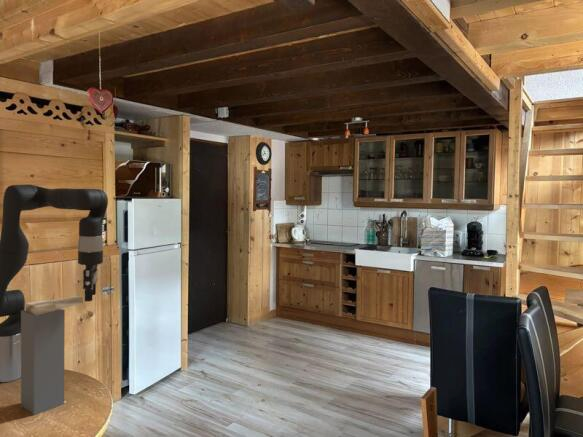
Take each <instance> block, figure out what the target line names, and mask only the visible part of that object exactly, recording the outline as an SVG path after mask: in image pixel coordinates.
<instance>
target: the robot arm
mask: <svg viewBox="0 0 583 437" xmlns="http://www.w3.org/2000/svg"><path fill="white" fill-rule="evenodd" d="M2 198H3V199H2V220H1V221H2V223H1V231H0V232H1V233H0V318H3V317H7V318H6V319H5V320H4V321H2V322H1V323H0V383H9V382H13V381H16V380H18V379H21V311H23V310H26V299H25V295H24V293H23V291H22V290H20V289H11V290H8V286H9V285H10V283H11V281H12V280H14V278H15V277H16V275H18V273H19V272H20V271H22V269H23V267H25V265H26V263H27V259H28V255H29V249H30V248H29V247H30V244H29V240H28V238H27V237H26V235H25V233H24V230H23V229H22V227H21V225H20V221H21V220H20V219H21V213H22V212H25V211H33V210H36V209H41V208H46V207H47V208H49V207H52V208H54V209H59V210H76V211H89V212H88V215H86V216H85V217H82V218H80V219H79V221H78V222H79V223H78V241H77V242H78V243H77V263H78V265H80V266H84V267H85V268H84V270H82V274H83V277H82V278H83V279H82V289H83V291H84V301H85V302H92V301H93V296H95V295H96V293H97V292H96V290H97V289H96V288H97V281H98V271H99V269H98V265H101V264H103V262H104V239H103V224H104V223H103V222H104V219H105V216H106V213H107V210H108V209H107V208H108V204H109V198H108V194H107V193H106V192H105V191H104V190H102V189H100V188H65V187H64V188H62V187H60V188H59V187H58V188H47V187H42V186H39V185H35V184H11V185H9V186H8V187H6V189H5V190H4V194H3V197H2Z"/></svg>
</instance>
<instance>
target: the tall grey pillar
mask: <svg viewBox="0 0 583 437" xmlns="http://www.w3.org/2000/svg"><path fill="white" fill-rule="evenodd" d="M65 315H66V314H65V309H64V308H60V309H55V311H53V312H48V313H43V314H38V315H35V314H33V313H30V312H27V311H26V309H25V310H23V311H21V378H20V407H21V408H24V409H25V410H26V411H28V412H30V413H31V414H32V415H34V416H35V415H38V414H41V413H43V412H47V411H49V410H51V409H54V408H57V407H59V406H62V405H64V404H65V331H66V330H65V325H66V324H65V323H66V322H65V321H66V319H65V318H66V317H65Z"/></svg>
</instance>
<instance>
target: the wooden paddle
mask: <svg viewBox="0 0 583 437" xmlns="http://www.w3.org/2000/svg"><path fill="white" fill-rule="evenodd" d="M83 304H84V297H83V296H81V295H76V296H75V295H74V296H69V297H65V298H64V297H63V298H58V299H52V300H45V299H43V300H38V301H37V300H36V301H32V302H25V310H26V311H27V312H30V313H33V314H35V315H38V314H43V313H48V312H53V311H55V309H64V308H70V307H75V306H79V305H83Z"/></svg>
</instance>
